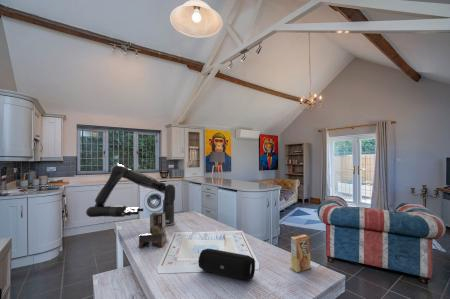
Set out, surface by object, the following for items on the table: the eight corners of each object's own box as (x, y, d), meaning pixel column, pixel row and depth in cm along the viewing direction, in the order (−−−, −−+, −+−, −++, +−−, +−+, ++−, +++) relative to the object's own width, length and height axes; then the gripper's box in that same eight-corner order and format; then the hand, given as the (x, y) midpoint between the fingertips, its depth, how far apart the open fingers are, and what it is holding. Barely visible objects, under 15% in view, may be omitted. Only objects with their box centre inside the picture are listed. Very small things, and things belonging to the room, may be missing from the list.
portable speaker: (197, 273, 101) (197, 252, 102) (207, 264, 110) (207, 244, 111) (249, 286, 91) (249, 262, 91) (255, 274, 100) (255, 252, 100)
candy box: (304, 264, 109) (303, 233, 109) (311, 268, 105) (310, 236, 106) (291, 268, 105) (290, 236, 105) (297, 272, 101) (296, 239, 102)
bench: (145, 241, 142) (145, 229, 142) (166, 241, 142) (166, 229, 142) (138, 247, 132) (139, 235, 132) (161, 247, 132) (161, 234, 132)
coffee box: (165, 235, 153) (165, 212, 153) (162, 238, 146) (162, 214, 147) (153, 234, 154) (153, 212, 154) (149, 238, 147) (149, 214, 148)
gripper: (112, 208, 144) (136, 208, 144) (122, 203, 158) (144, 203, 158) (112, 219, 143) (136, 219, 143) (122, 214, 157) (144, 214, 157)
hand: (140, 211), depth 150 cm, fingers open, 8 cm apart
